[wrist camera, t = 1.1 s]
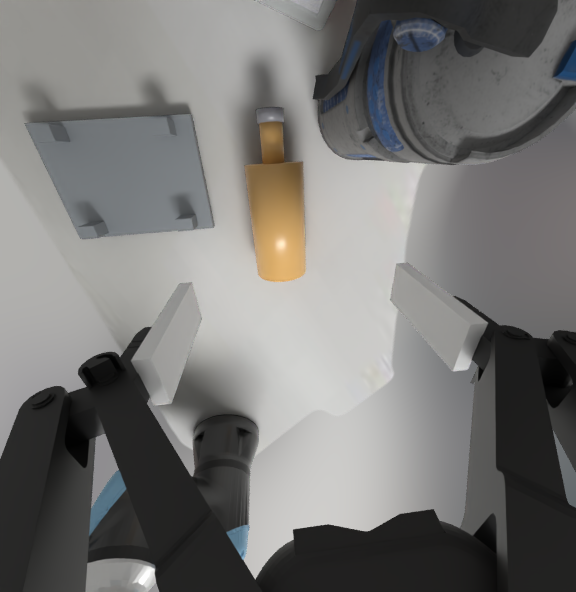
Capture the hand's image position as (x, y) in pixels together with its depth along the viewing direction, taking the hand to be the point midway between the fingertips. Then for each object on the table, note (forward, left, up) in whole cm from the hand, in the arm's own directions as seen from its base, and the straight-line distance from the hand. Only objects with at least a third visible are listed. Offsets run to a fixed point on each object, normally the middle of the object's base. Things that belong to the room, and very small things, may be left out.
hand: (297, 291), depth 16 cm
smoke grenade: (+12, -10, -23) cm, 28 cm away
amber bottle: (+2, 0, -23) cm, 23 cm away
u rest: (+6, +18, -23) cm, 30 cm away
